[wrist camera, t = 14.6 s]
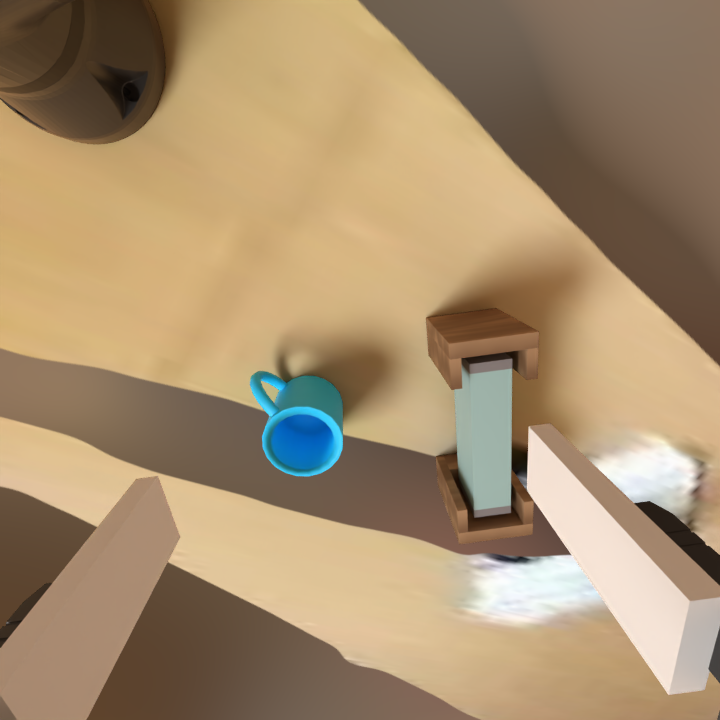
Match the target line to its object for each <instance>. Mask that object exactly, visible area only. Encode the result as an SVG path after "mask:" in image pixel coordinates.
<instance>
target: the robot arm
mask: <svg viewBox="0 0 720 720" xmlns="http://www.w3.org/2000/svg"><path fill="white" fill-rule="evenodd" d="M164 76H165V54H164V46H163V40H162V36H161V32H160V28H159V25H158V22H157V19H156V17H155V15H154V12H153V10H152V8H151V6H150V4H149V2H148V0H0V99H1V100H2V101H3V102H4V103H5V104H6V105H7V106H8V107H9V108H10V109H12V110H13V111H14V112H15V113H17V114H18V115H19V116H21V117H22V118H23V119H25V120H26V121H28V122H29V123H31V124H33V125H35V126H36V127H38V128H40V129H42V130H44V131H46V132H48V133H51V134H53V135H56V136H59V137H63V138H66V139H69V140H72V141H76V142H80V143H86V144H106V143H112V142H116V141H119V140H121V139H124V138H126V137H128V136H130V135H131V134H133V133H134V132H136V131H137V130H138V129H139V128H141V127H142V126H143V125H144V124H145V123H146V121H147V120H148V119H149V118H150V116H151V115H152V113H153V112H154V110H155V108H156V106H157V104H158V101H159V99H160V96H161V92H162V88H163V83H164ZM527 491H528V492H529V494H530V495H531V497H532V498H533V500H534V501H535V503H536V504H537V506H538V507H539V508H540V509H541V511H542V513H543V514H544V516H545V517H546V519H547V520H548V521H549V523H550V524H551V526H552V527H553V529H554V530H555V531H556V533H557V534H558V536H559V537H560V539H561V540H562V541H563V543H564V544H565V546H566V547H567V549H568V550H569V552H570V553H571V555H572V556H573V557H574V559H575V560H576V562H577V563H578V565H579V566H580V568H581V569H582V570H583V572H584V573H585V575H586V576H587V578H588V579H589V581H590V582H591V583H592V585H593V586H594V588H595V589H596V591H597V592H598V594H599V595H600V596H601V598H602V599H603V601H604V602H605V604H606V605H607V607H608V608H609V609H610V611H611V612H612V614H613V615H614V617H615V618H616V620H617V621H618V622H619V624H620V625H621V627H622V628H623V630H624V631H625V633H626V634H627V635H628V637H629V638H630V640H631V641H632V643H633V644H634V645H635V647H636V648H637V650H638V651H639V653H640V654H641V656H642V657H643V658H644V660H645V661H646V663H647V664H648V666H649V667H650V669H651V670H652V671H653V673H654V674H655V676H656V677H657V679H658V680H659V682H660V683H661V684H662V686H663V687H664V689H665V690H666V692H667V693H668V695H671V694H679V693H686V692H694V691H701V690H705V686H706V683H707V679H708V675H709V672H711V673H712V674H713V675H714V677H715V678H716V679H717V680H718V682H719V683H720V555H719V554H718V553H717V552H715V551H714V550H713V549H712V548H711V547H710V546H706V544H705V542H704V541H703V540H702V539H701V538H700V537H698V536H697V535H696V534H695V533H694V532H693V533H692V532H691V531H690V529H689V528H688V527H687V526H686V525H685V524H684V523H682V522H681V521H680V520H679V519H678V518H677V517H676V516H675V515H673V514H672V513H670V512H669V511H667V510H665V509H663V508H661V507H659V506H658V505H656V504H654V503H652V502H650V501H647V502H640V503H633V502H632V501H631V500H630V499H629V498H628V497H627V496H626V495H625V494H624V493H623V492H622V491H620V490H619V489H618V488H617V487H616V486H615V485H614V484H613V483H612V482H611V481H610V480H609V479H608V478H607V477H606V476H605V475H604V474H603V473H602V472H601V471H600V470H599V469H598V468H596V467H595V466H594V465H593V464H592V463H591V462H590V461H589V460H588V459H587V458H586V457H585V456H584V455H583V454H582V453H581V452H580V451H579V450H578V449H577V448H576V447H575V446H574V445H573V444H571V443H570V442H569V441H568V440H567V439H566V438H565V437H564V436H563V435H562V434H561V433H560V432H559V431H558V430H557V429H556V428H555V427H554V426H553V425H552V424H551V423H548V424H541V425H534V426H529V434H528V474H527ZM179 539H180V535H179V533H178V530H177V527H176V524H175V522H174V519H173V516H172V513H171V511H170V508H169V505H168V502H167V500H166V497H165V494H164V491H163V489H162V486H161V483H160V481H159V478H158V476H155V477H148V478H140V479H136V480H135V481H134V482H133V484H132V485H131V486H130V487H129V489H128V490H127V491H126V492H125V494H124V495H123V496H122V497H121V499H120V500H119V501H118V502H117V504H116V505H115V506H114V507H113V509H112V510H111V511H110V512H109V514H108V515H107V516H106V517H105V519H104V520H103V521H102V522H101V524H100V525H99V526H98V527H97V529H96V530H95V531H94V532H93V534H92V535H91V536H90V537H89V539H88V540H87V541H86V542H85V543H84V545H83V546H82V547H81V548H80V550H79V551H78V552H77V553H76V555H75V556H74V557H73V559H72V560H71V561H70V562H69V564H68V565H67V566H66V567H65V568H64V570H63V571H62V572H61V573H60V575H59V576H58V577H57V578H56V580H55V581H54V582H53V583H47V584H44V585H43V586H42V587H41V588H40V589H38V590H37V591H36V592H35V593H34V594H32V595H31V596H30V597H29V598H28V599H26V600H25V601H24V602H23V603H22V604H21V605H20V607H19V608H18V609H17V610H16V611H15V613H14V614H13V615H12V616H11V617H10V619H9V620H8V621H7V622H6V626H3V627H2V628H1V629H0V720H86V719H87V717H88V715H89V713H90V711H91V709H92V708H93V706H94V703H95V702H96V700H97V698H98V696H99V694H100V692H101V690H102V688H103V686H104V684H105V682H106V680H107V678H108V676H109V675H110V672H111V671H112V669H113V667H114V665H115V663H116V661H117V659H118V657H119V655H120V653H121V651H122V649H123V647H124V645H125V643H126V641H127V640H128V638H129V635H130V634H131V632H132V630H133V628H134V626H135V624H136V622H137V620H138V618H139V616H140V614H141V612H142V610H143V608H144V606H145V605H146V603H147V601H148V599H149V597H150V595H151V593H152V591H153V589H154V587H155V585H156V583H157V581H158V579H159V577H160V575H161V574H162V572H163V569H164V568H165V566H166V564H167V562H168V560H169V558H170V556H171V554H172V552H173V550H174V548H175V546H176V544H177V542H178V540H179ZM717 720H720V712H719V715H718V719H717Z"/></svg>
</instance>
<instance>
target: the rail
mask: <svg viewBox="0 0 720 720" xmlns="http://www.w3.org/2000/svg"><path fill="white" fill-rule="evenodd" d="M461 366H462V389H455V390H454V392H455V414H456V436H457V457H458V479H459V485H460V487H461V489H462V491H463V494H464V496H465V498H466V500H467V502H468V505H469V507H470V509H471V511H472V514H473V516H474V518H476V517H484V516H491V515H499V514H506V513H511V438H512V358H511V357H510V356H508V355H507V354H506V353H505V352H503V353H496V354H489V355H481V356H474V357H466V358H461Z"/></svg>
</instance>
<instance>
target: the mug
mask: <svg viewBox="0 0 720 720" xmlns="http://www.w3.org/2000/svg"><path fill="white" fill-rule="evenodd" d="M261 381H264V382H267V383H269V384H271V385H272V386H274V387H276V388H277V389H278V390H280V391H279V392H278V395H277V397H276V400H275V403H273V401H272V400H271V399H270V398H269V396H268V395H267V394H266V392H265V390H264V389H263V387H262V384H261ZM250 386H251V389H252V393H253V395H254V396H255V398H256V400H257V401H258V403H259V404H260V405H261V407H262V408H263V409H264V410H265V411H266V413H267V414H269V415H270V416H269V418H268V421H267V424H266V427H265V430H264V433H263V436H262V442H263V449H264V452H265V454H266V456H267V458H268V459H269V460H270V461H271V463H272V464H273V465H274V466H275V467H276V468H278V469H280V470H281V471H283V472H285V473H288V474H292V475H295V476H312V475H316V474H319V473H322V472H324V471H325V470H327V469H329V468H330V467H331V466H332V465H333V464H334V463H335V462H336V461H337V460H338V459H339V456H340V454H341V451H342V448H343V401H342V399H341V396H340V393H339V392H338V390H337V389H336V388H335V386H334V385H333V384H331V383H330V382H328V381H327V380H325V379H323V378H320V377H317V376H300V377H297V378H293V379H292V380H290V381H289V382H287V383H286V382H285V381H283V380H282V379H280V378H279V377H277V376H276V375H273V374H271V373H269V372H265V371H258V372H256V373H255V374H253V375H252V376H251V380H250Z"/></svg>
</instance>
